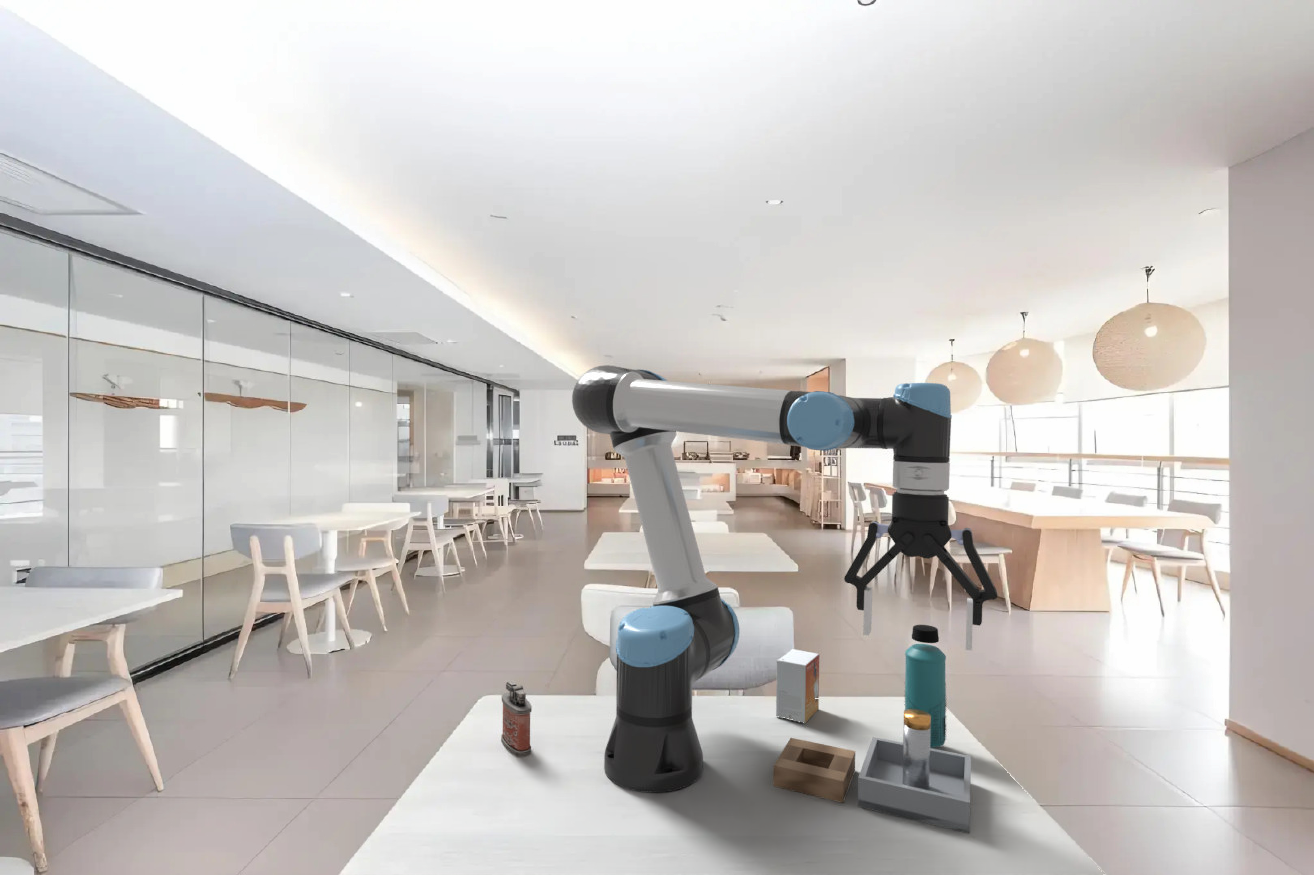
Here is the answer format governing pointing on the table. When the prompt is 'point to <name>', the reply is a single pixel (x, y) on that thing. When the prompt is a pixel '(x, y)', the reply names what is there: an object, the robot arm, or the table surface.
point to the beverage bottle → (927, 681)
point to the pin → (916, 749)
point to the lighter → (516, 720)
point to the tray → (931, 806)
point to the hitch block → (815, 769)
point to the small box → (797, 685)
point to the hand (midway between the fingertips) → (916, 640)
